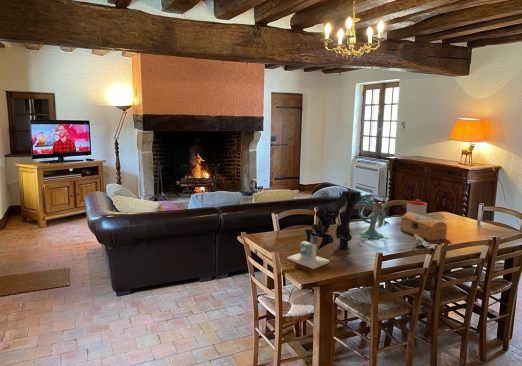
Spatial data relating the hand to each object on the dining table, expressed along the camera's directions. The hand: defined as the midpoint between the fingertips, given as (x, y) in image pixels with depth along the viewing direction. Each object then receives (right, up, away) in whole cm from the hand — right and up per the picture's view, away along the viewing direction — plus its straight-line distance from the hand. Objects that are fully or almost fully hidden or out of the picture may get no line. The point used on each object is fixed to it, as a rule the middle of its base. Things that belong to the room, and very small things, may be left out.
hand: (312, 247), depth 239 cm
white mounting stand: (-3, -8, -1) cm, 9 cm away
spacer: (-5, -4, -4) cm, 7 cm away
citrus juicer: (+97, +6, +93) cm, 135 cm away
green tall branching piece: (+51, 0, +52) cm, 73 cm away
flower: (+72, -5, +27) cm, 77 cm away
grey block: (-2, -6, -1) cm, 7 cm away
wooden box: (+90, 0, +59) cm, 107 cm away
